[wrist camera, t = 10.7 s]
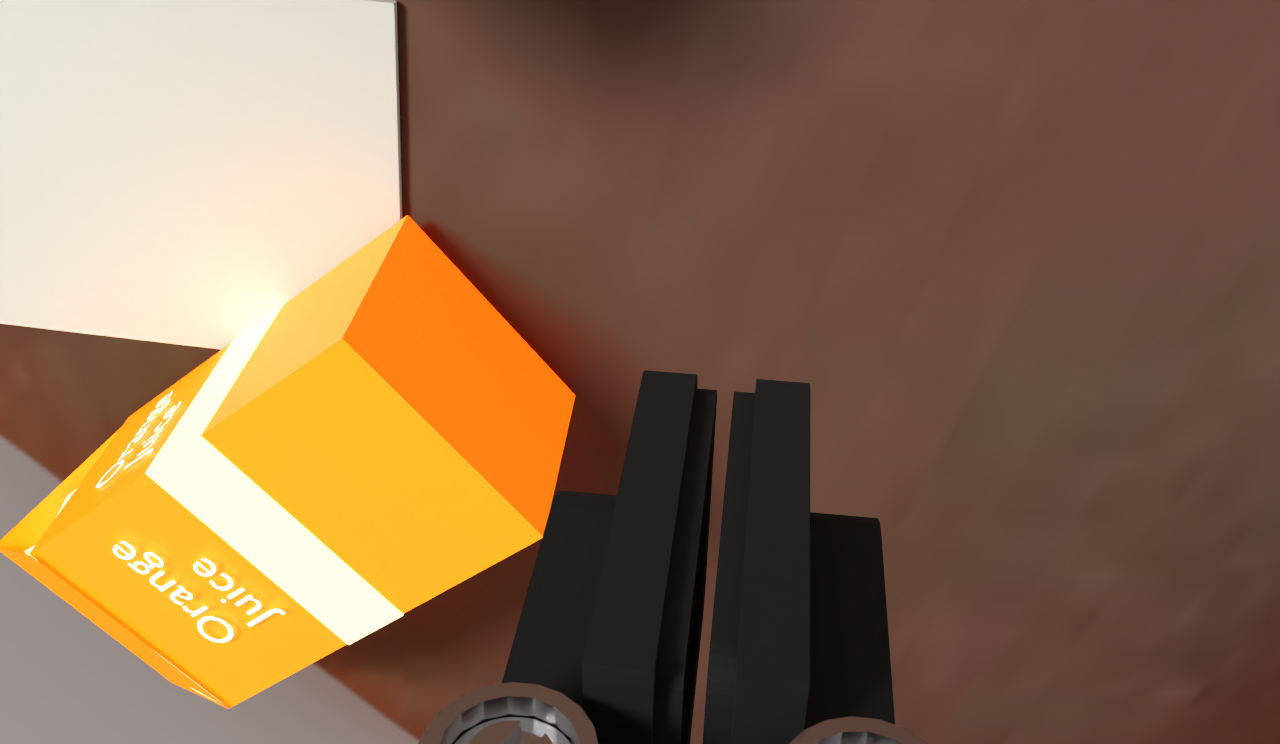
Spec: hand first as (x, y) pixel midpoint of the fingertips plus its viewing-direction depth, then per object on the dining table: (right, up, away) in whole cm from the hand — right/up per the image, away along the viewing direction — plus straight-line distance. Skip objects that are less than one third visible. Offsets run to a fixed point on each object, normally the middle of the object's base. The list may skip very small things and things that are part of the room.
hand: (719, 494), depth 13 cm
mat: (-17, +8, +28) cm, 34 cm away
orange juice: (-6, +1, +26) cm, 26 cm away
